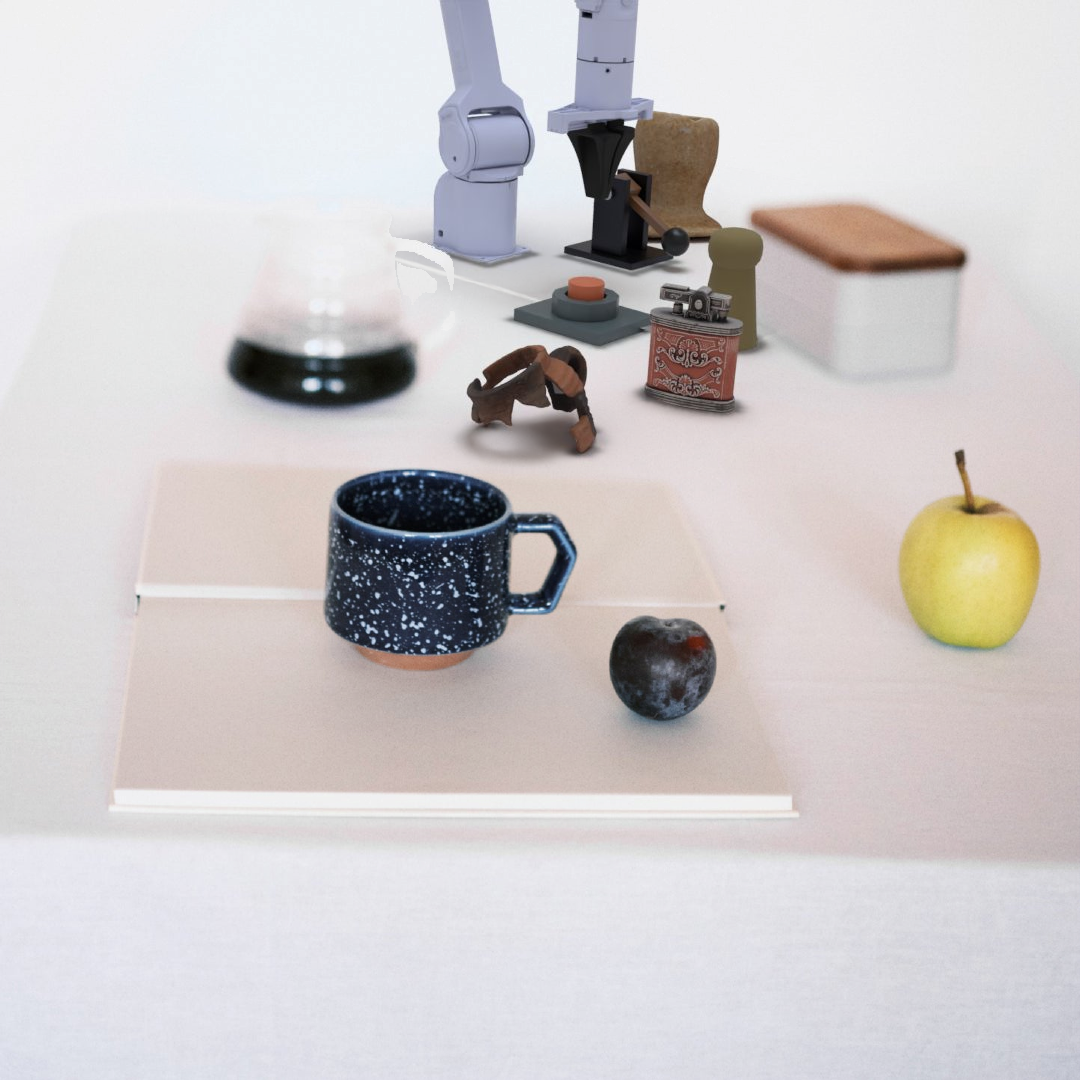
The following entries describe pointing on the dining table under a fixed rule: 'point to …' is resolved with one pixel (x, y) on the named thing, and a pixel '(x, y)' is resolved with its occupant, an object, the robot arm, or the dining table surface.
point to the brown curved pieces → (535, 388)
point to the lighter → (693, 349)
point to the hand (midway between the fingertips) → (596, 197)
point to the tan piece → (678, 168)
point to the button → (586, 288)
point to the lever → (658, 223)
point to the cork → (737, 276)
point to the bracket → (621, 228)
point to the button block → (584, 317)
